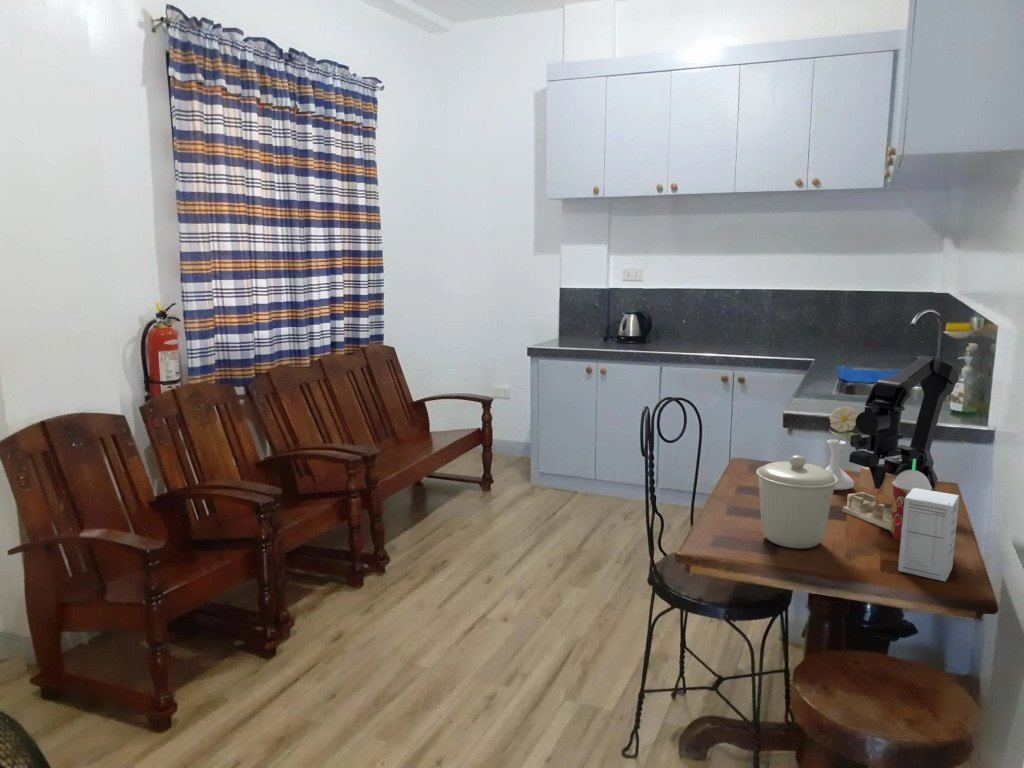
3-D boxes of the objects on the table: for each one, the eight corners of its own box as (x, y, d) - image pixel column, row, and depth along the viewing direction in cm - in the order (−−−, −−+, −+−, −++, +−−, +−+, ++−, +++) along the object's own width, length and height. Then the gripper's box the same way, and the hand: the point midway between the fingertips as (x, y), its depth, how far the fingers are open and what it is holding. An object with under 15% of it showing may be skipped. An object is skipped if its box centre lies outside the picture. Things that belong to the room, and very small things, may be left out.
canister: (833, 534, 185) (840, 451, 181) (831, 561, 169) (839, 470, 165) (756, 523, 192) (761, 442, 188) (747, 547, 176) (753, 460, 172)
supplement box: (953, 568, 165) (961, 495, 162) (946, 582, 158) (955, 506, 155) (905, 557, 171) (912, 486, 168) (896, 570, 164) (903, 496, 161)
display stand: (864, 507, 204) (865, 491, 204) (916, 527, 190) (918, 509, 189) (842, 511, 201) (843, 494, 200) (893, 531, 187) (895, 514, 186)
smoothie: (925, 548, 176) (934, 466, 173) (885, 541, 180) (894, 460, 177) (926, 537, 184) (934, 457, 180) (888, 530, 188) (895, 452, 184)
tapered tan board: (865, 484, 200) (867, 466, 199) (904, 498, 189) (906, 479, 188) (858, 485, 199) (860, 467, 198) (897, 499, 188) (899, 480, 188)
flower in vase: (803, 483, 225) (809, 401, 221) (832, 479, 229) (839, 399, 225) (837, 497, 213) (844, 410, 209) (867, 492, 217) (875, 407, 213)
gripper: (886, 419, 202) (881, 475, 205) (834, 425, 195) (829, 483, 198) (923, 428, 192) (917, 487, 195) (870, 435, 185) (864, 496, 188)
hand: (881, 488), depth 194 cm, fingers closed on tapered tan board, 2 cm apart
